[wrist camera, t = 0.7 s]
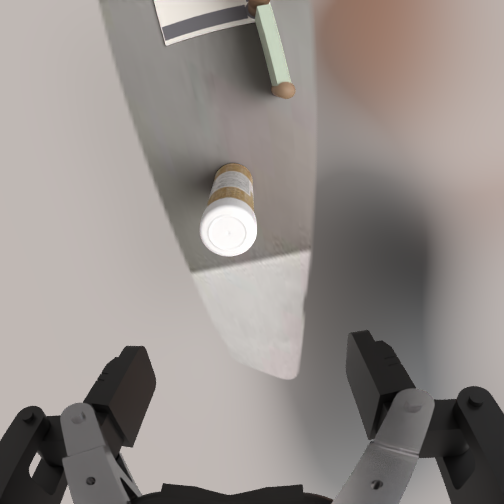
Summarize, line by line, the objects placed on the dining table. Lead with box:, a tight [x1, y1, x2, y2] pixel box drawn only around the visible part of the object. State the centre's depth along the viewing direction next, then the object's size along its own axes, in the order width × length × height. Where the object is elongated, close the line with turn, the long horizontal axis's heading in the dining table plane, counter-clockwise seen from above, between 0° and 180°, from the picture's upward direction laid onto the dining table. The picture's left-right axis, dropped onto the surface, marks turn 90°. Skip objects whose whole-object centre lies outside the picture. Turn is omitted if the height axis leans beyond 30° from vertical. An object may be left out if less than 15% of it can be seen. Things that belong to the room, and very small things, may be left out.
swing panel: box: [255, 4, 295, 99], centre depth 24 cm, size 9×2×6 cm, turn 13°
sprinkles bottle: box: [200, 163, 257, 256], centre depth 29 cm, size 5×5×14 cm
